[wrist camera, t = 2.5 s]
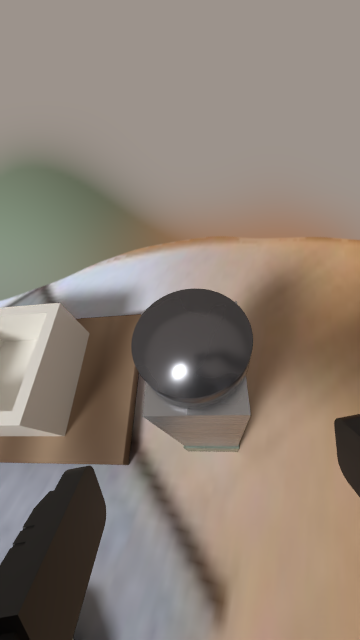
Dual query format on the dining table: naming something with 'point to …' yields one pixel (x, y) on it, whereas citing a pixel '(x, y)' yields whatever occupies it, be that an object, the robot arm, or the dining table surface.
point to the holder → (38, 368)
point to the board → (92, 404)
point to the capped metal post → (195, 368)
